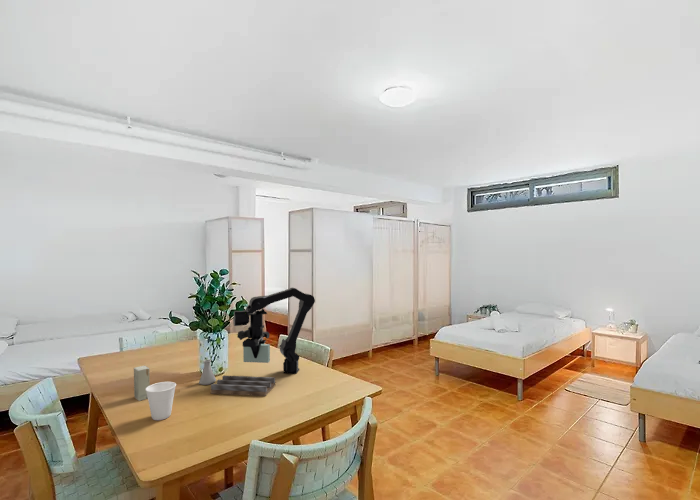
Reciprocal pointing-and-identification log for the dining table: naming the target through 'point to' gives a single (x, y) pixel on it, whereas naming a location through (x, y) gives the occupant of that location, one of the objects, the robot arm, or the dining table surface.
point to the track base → (243, 385)
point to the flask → (207, 374)
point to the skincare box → (141, 382)
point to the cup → (161, 399)
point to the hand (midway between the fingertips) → (256, 357)
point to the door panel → (262, 355)
